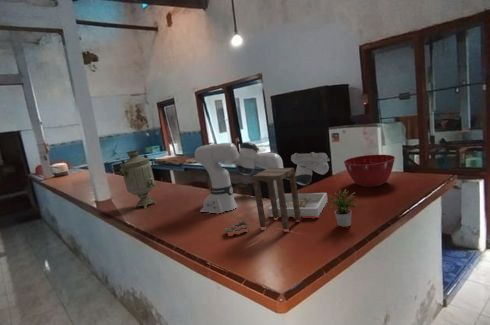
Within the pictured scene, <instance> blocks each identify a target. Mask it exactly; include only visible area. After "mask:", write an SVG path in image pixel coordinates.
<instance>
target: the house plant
mask: <svg viewBox="0 0 490 325" xmlns="http://www.w3.org/2000/svg"><path fill="white" fill-rule="evenodd" d="M349 191H350V190H347V188H345V189H344V190H343V192H342V188H339V195H338V193H337V192H335V191H334V193H332V192H331V194H332V195H333V194H334V195H335V197H336V198H335V197H334V196H332V195H327V196H324V197H327V198H330V199H331V202H332V203H333V204H335V205H329V206H328V209H329V210H331V209H336V210H335V211H334V216H335V219H336V223H337V226H338V225H339V226H350V225H352V210H351V209H349V208H352V207H353V208H357V206H358V203H356V202H357V199H353V198H355V197H356V196H353V195H354V194H355V193H357V192H353V193H351V194H350V195H349V196H348V197H347V199H346V196H347V194H348V193H349ZM356 198H357V197H356ZM355 201H356V202H355ZM353 202H354V203H353ZM339 226H338V227H339ZM350 227H351V226H350Z"/></svg>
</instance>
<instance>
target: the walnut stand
mask: <svg viewBox="0 0 490 325" xmlns="http://www.w3.org/2000/svg"><path fill="white" fill-rule="evenodd" d="M295 173H296V169H295V167H283V168H268V169H264V170H262V171H260V172H258V173H256V174H253V175H252V182H253V189H254V195H255V201H256V208H257V214H258V215H257V216H258V221H259V227H265V226H266V227H267V223H266V222H267V221H266V216H265V210H264V202H263V197H262V191H261V190H262V189H261V184H260V181H267V185H268V191H269V199H270V204H271V205H270V206H272V213H273V218H277V217H279V215H278V208H277V202H276V200H277V197H278V198H279V204H280V210H281V217H282V218H281V222H282V223H281V224H282V230H283V229H290V223H289V218H288V215H287V208H286V201H285V194H286V193H285V188H284V178H285V177H287V176H289V178H290V180H289V184H290V185H289V186H290V191H291V194H292V200H293V207H294V214H295V218H294V220H300V219H301V220H302V218H301V215H300V208H299V200H298V194H299V192H298V189H297V188H298V186H297V183H296V178H295ZM275 181H276V182H275ZM274 182H275V183H276V189H275V183H274ZM275 190H276V191H277V195H278V196H276V191H275ZM273 218H272V219H273Z"/></svg>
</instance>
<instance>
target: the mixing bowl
mask: <svg viewBox="0 0 490 325" xmlns="http://www.w3.org/2000/svg"><path fill="white" fill-rule="evenodd" d="M395 159H396V157H395V156H394V155H392V154H367V155H359V156H354V157H350V158H347V159H345V160H344V161H343V164H344V166H345V169H346V171H347V172H348V175H349V176H350V178H351V179H352V182H354V183H355V184H356V185H359V186H360V187H364V188H374V187H375V188H376V187H379V186H383V185H384V184H385V183H386V182H387V181H388V180H389V178H390V176H391V174H392V171H393V168H394V164H395Z"/></svg>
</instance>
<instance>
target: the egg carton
mask: <svg viewBox="0 0 490 325" xmlns="http://www.w3.org/2000/svg"><path fill="white" fill-rule="evenodd" d="M241 225H245V228H242V229H247V228H250V227H249V226H248V224H247V222H246V220H242V221H239V222H238V223H235V224H234V225H231V226H229V227H225V228H224V230H225V232H226V231H227V232H233V231H240V230H242V229H241V228H240V229H239V230H238V229H237V230H235V229H236V227H234V226H237V227H239V226H241ZM233 227H234V228H233ZM227 228H232V229H231V230H232V231H229V229H227Z"/></svg>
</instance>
